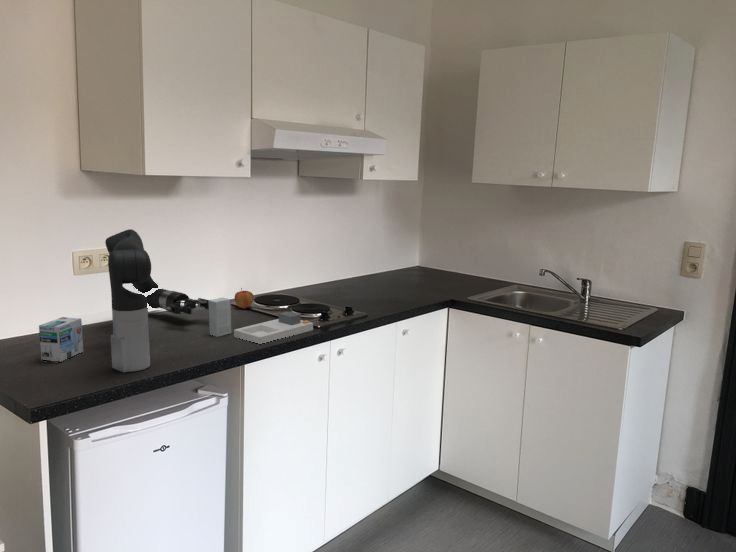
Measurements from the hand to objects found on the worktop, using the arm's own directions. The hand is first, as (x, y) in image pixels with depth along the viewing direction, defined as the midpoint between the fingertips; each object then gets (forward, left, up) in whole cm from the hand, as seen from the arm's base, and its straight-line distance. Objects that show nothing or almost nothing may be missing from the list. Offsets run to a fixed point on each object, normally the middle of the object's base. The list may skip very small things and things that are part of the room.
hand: (201, 309), depth 214 cm
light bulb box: (-46, +4, -7) cm, 47 cm away
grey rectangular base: (+13, -23, -7) cm, 27 cm away
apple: (+29, +13, -7) cm, 33 cm away
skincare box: (0, -10, -7) cm, 12 cm away
